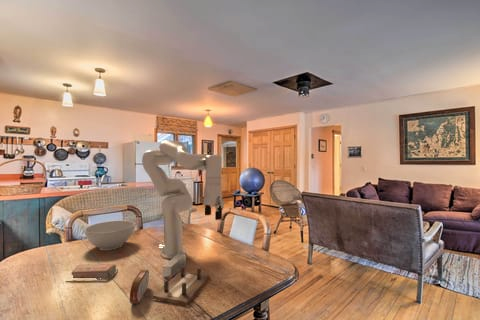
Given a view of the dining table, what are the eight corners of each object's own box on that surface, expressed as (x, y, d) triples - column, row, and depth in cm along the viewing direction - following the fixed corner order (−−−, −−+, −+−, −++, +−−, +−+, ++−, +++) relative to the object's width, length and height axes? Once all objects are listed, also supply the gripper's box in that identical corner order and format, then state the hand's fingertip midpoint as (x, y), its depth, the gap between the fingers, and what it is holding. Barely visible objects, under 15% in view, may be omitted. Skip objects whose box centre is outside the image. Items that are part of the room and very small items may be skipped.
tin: (142, 286, 100) (142, 265, 100) (150, 285, 100) (150, 265, 100) (128, 309, 85) (128, 284, 85) (138, 308, 85) (137, 284, 85)
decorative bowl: (132, 236, 163) (132, 218, 163) (139, 249, 140) (138, 228, 140) (84, 244, 149) (84, 224, 149) (83, 259, 126) (83, 236, 126)
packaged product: (118, 261, 114) (107, 271, 104) (118, 271, 114) (107, 282, 104) (79, 261, 114) (64, 271, 104) (79, 271, 114) (64, 282, 104)
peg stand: (152, 299, 90) (152, 284, 90) (181, 274, 109) (181, 262, 109) (186, 306, 86) (186, 290, 86) (210, 278, 105) (209, 266, 105)
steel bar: (162, 277, 107) (162, 266, 107) (178, 263, 121) (178, 253, 121) (171, 278, 106) (170, 267, 106) (186, 264, 120) (185, 254, 120)
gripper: (197, 179, 120) (197, 214, 121) (216, 183, 106) (215, 222, 107) (211, 179, 125) (210, 212, 125) (230, 182, 111) (230, 220, 111)
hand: (213, 217), depth 116 cm, fingers open, 9 cm apart
